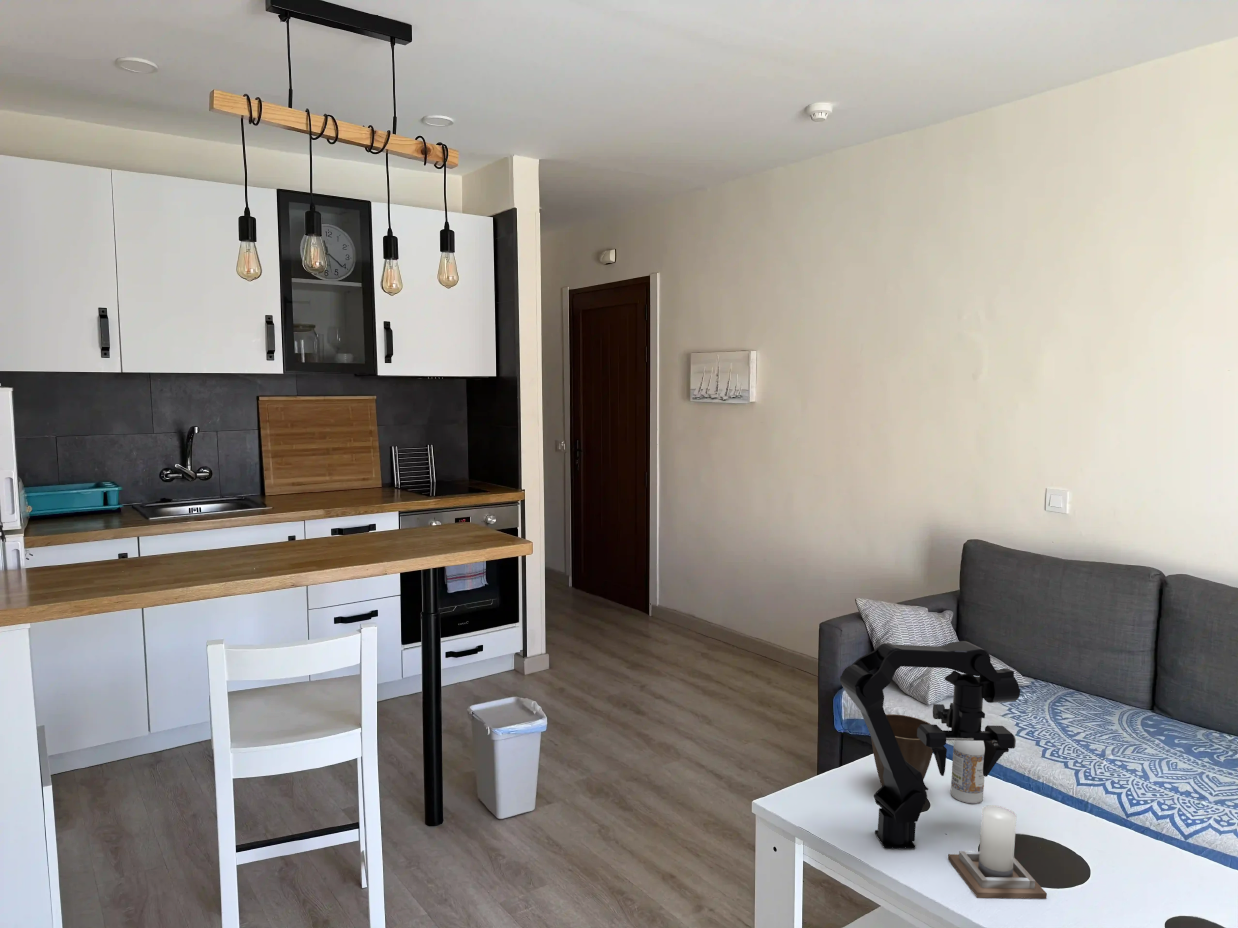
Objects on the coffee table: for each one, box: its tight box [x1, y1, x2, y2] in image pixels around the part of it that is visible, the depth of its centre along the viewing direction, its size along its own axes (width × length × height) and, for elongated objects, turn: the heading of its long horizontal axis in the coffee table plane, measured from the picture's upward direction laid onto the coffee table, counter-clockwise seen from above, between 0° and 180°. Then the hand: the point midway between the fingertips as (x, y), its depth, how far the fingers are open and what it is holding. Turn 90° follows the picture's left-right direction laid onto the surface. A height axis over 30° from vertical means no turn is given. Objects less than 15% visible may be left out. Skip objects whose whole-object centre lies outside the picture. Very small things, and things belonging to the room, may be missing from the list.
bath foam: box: [950, 740, 985, 804], centre depth 193 cm, size 7×7×20 cm
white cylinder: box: [978, 805, 1017, 878], centre depth 161 cm, size 6×6×12 cm
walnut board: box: [947, 850, 1048, 900], centre depth 161 cm, size 13×13×2 cm
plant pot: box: [870, 713, 934, 787], centre depth 195 cm, size 15×15×16 cm
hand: (963, 775), depth 176 cm, fingers open, 9 cm apart
